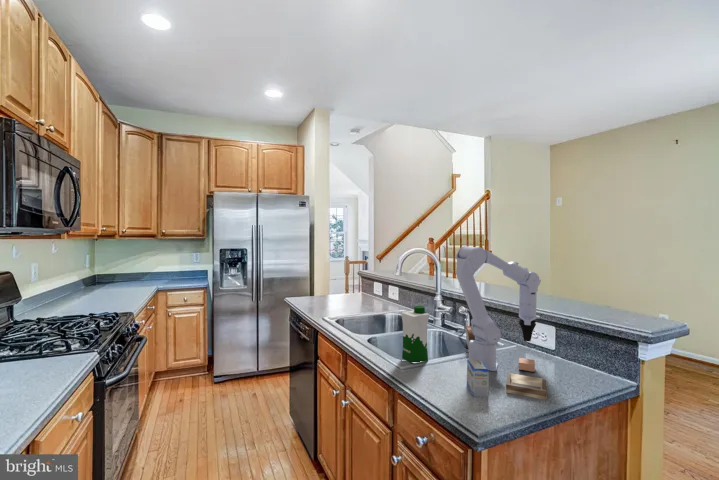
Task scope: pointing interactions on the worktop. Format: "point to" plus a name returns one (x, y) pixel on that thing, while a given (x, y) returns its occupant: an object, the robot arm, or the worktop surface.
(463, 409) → the worktop surface
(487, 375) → the medicine box
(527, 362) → the peach toy brick
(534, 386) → the dock
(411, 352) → the milk carton
